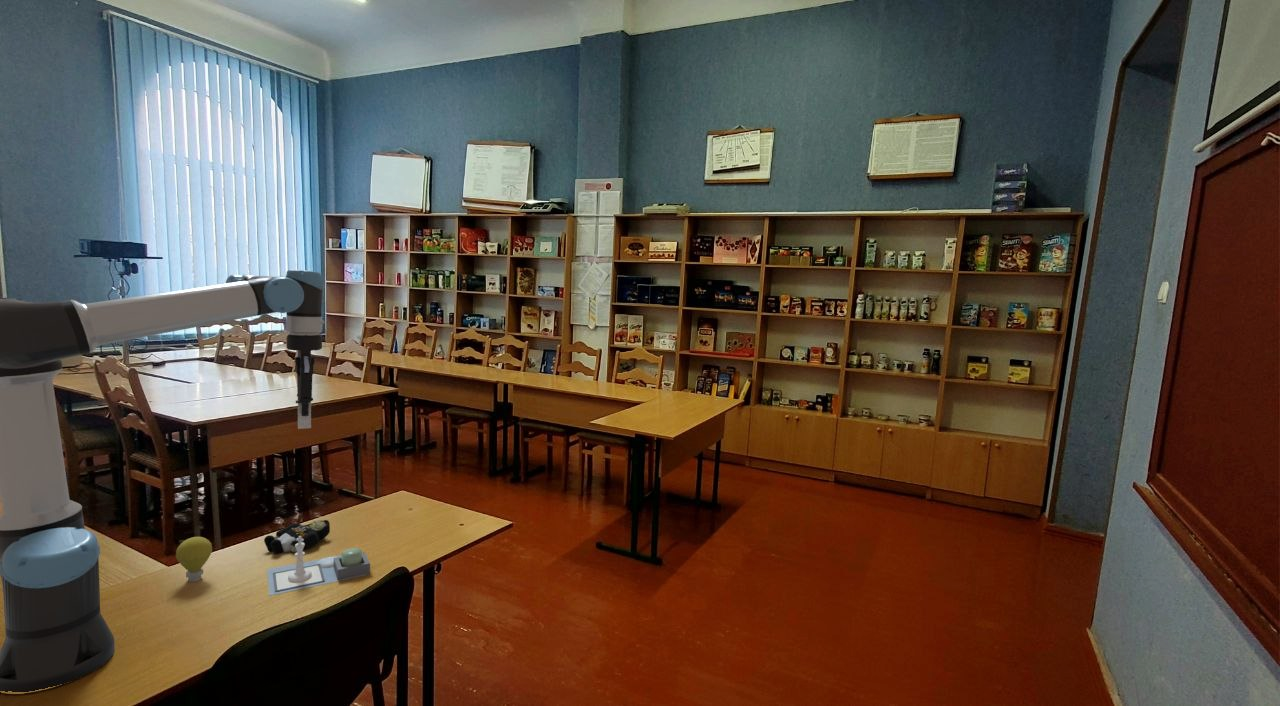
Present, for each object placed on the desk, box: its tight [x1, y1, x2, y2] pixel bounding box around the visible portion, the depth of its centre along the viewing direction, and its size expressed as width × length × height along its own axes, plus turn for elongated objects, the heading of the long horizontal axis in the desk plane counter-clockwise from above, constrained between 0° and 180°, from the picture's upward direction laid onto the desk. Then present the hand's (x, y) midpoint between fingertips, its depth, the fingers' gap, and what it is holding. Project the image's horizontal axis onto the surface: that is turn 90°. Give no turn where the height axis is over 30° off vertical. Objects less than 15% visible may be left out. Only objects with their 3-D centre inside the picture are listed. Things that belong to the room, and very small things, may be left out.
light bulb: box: [175, 536, 213, 583], centre depth 131 cm, size 7×7×10 cm
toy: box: [263, 519, 331, 555], centre depth 152 cm, size 12×8×15 cm
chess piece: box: [288, 536, 312, 582], centre depth 133 cm, size 5×5×10 cm
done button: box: [341, 547, 363, 567], centre depth 138 cm, size 4×4×4 cm
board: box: [266, 551, 371, 597], centre depth 137 cm, size 20×14×3 cm
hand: (304, 427), depth 141 cm, fingers closed
